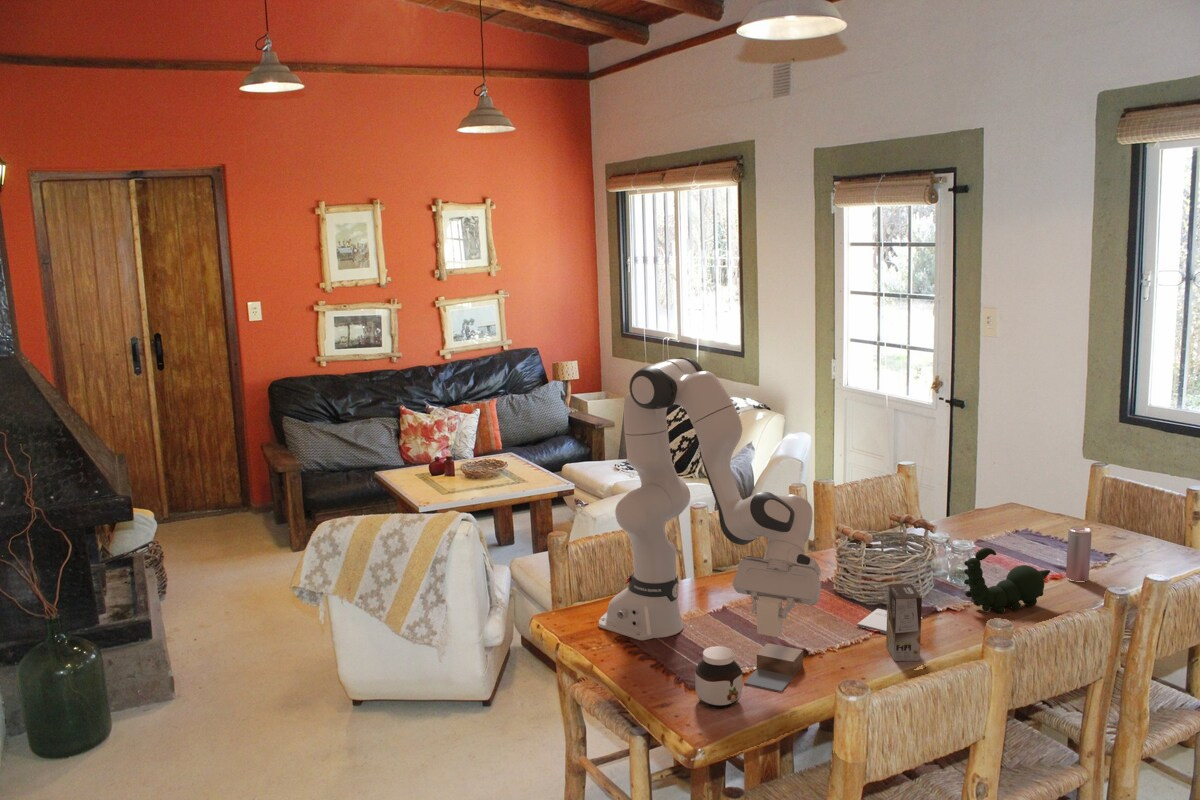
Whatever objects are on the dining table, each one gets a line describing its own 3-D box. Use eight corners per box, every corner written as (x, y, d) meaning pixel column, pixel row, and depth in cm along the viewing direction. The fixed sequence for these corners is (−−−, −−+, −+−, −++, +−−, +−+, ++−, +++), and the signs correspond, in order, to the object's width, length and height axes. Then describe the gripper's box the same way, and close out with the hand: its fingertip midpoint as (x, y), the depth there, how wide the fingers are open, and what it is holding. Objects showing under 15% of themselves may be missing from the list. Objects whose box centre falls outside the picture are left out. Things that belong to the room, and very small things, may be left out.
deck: (756, 670, 242) (756, 654, 241) (767, 658, 248) (767, 643, 247) (793, 677, 237) (793, 661, 236) (802, 665, 243) (803, 649, 242)
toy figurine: (980, 626, 266) (1062, 605, 272) (977, 558, 262) (1061, 539, 268) (959, 612, 275) (1039, 593, 281) (956, 546, 271) (1037, 528, 276)
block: (757, 633, 234) (756, 600, 232) (761, 628, 236) (761, 596, 235) (777, 637, 231) (777, 604, 230) (782, 632, 234) (782, 599, 232)
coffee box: (921, 661, 244) (923, 598, 240) (894, 661, 244) (895, 598, 241) (910, 644, 253) (912, 583, 249) (884, 645, 253) (886, 584, 250)
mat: (744, 684, 235) (744, 682, 235) (756, 670, 242) (756, 668, 242) (781, 692, 230) (781, 690, 230) (793, 677, 237) (793, 676, 237)
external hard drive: (856, 629, 264) (876, 613, 273) (886, 636, 259) (906, 620, 268) (856, 623, 264) (876, 607, 273) (886, 630, 259) (906, 614, 268)
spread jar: (708, 714, 222) (708, 664, 220) (682, 692, 232) (681, 644, 230) (754, 701, 227) (754, 652, 225) (727, 680, 237) (727, 634, 235)
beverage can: (1062, 575, 294) (1065, 526, 291) (1084, 576, 293) (1087, 526, 290) (1069, 583, 288) (1072, 532, 285) (1091, 583, 288) (1094, 533, 285)
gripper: (737, 548, 241) (722, 602, 235) (821, 560, 231) (808, 616, 225) (744, 560, 246) (729, 613, 240) (827, 572, 236) (814, 628, 230)
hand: (768, 615), depth 232 cm, fingers closed on block, 5 cm apart
